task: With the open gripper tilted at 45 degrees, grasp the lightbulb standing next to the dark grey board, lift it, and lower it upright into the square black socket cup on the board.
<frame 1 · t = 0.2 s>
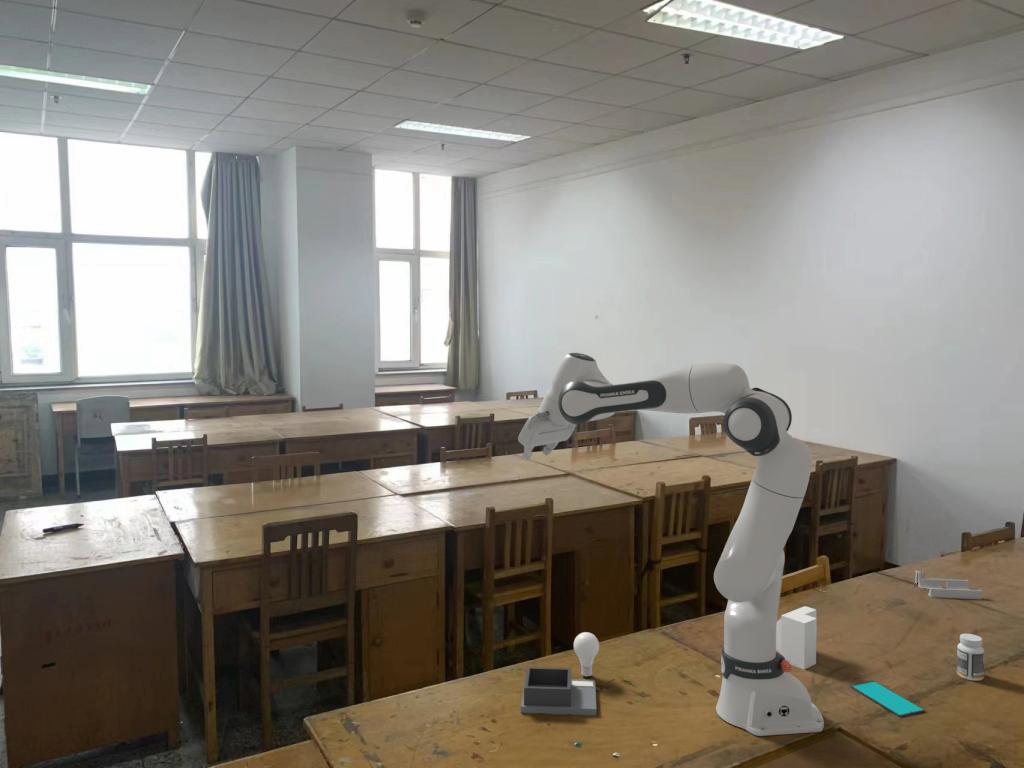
hand: (536, 456, 193), 54 cm above the table, tool tilted 25°, fingers open, 8 cm apart
pill bottle: (969, 677, 182), on the table
smartphone: (885, 701, 172), on the table
lightbulb: (586, 676, 185), on the table
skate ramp: (947, 593, 242), on the table
white notched block: (796, 657, 195), on the table
socket board: (559, 698, 174), on the table
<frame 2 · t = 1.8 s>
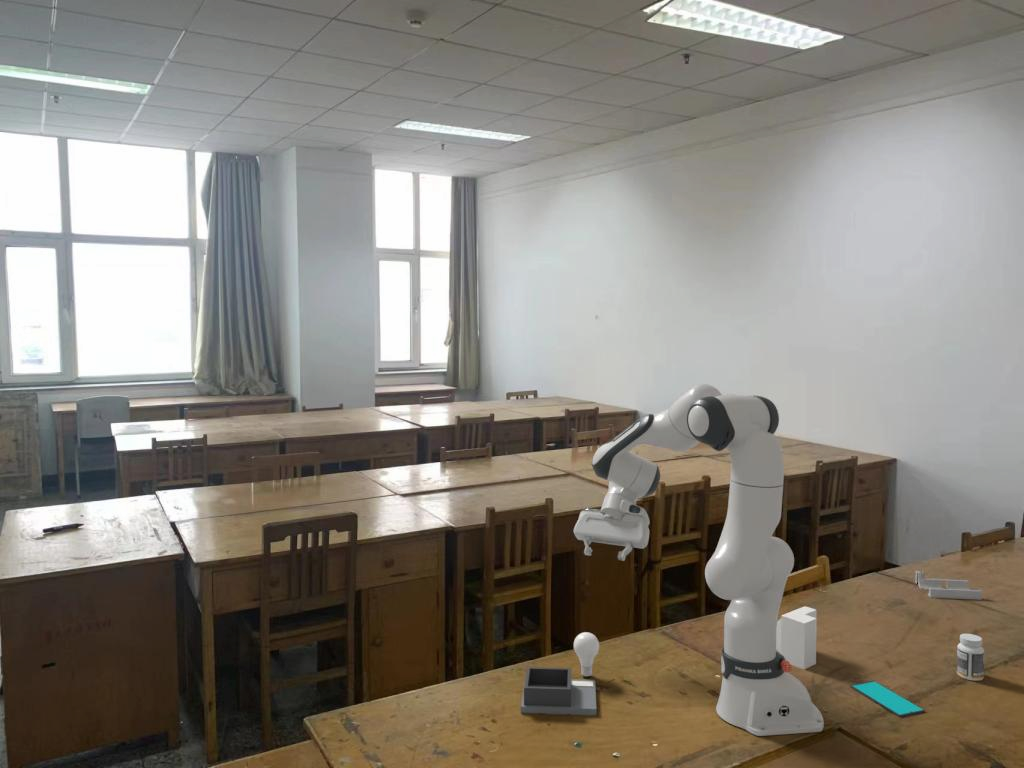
hand: (603, 556, 194), 27 cm above the table, tool tilted 45°, fingers open, 8 cm apart
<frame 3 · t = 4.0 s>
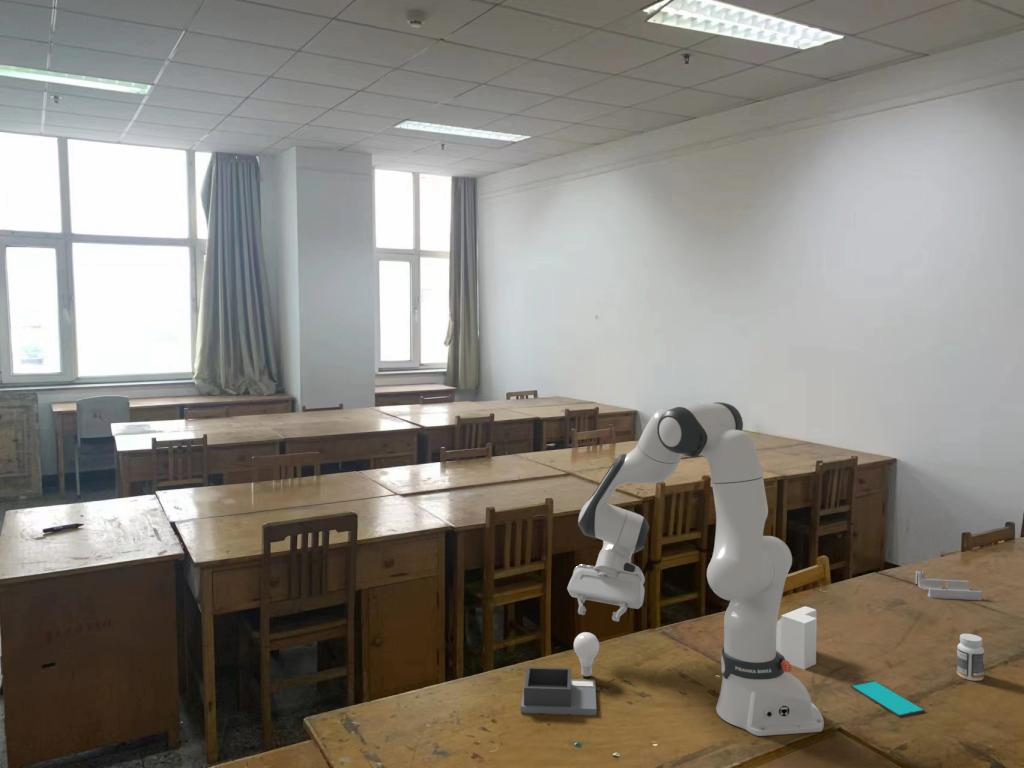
hand: (597, 617, 191), 13 cm above the table, tool tilted 45°, fingers open, 8 cm apart
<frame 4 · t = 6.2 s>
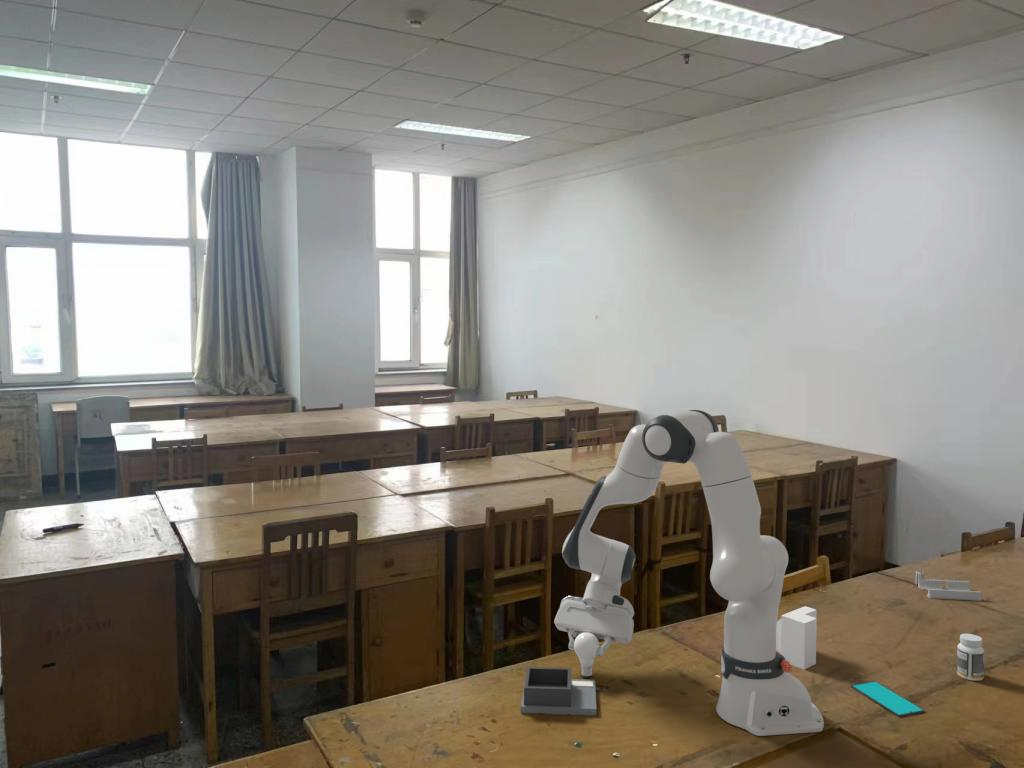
hand: (585, 652, 184), 6 cm above the table, tool tilted 45°, fingers closed on lightbulb, 6 cm apart
lightbulb: (586, 676, 185), on the table, touching gripper
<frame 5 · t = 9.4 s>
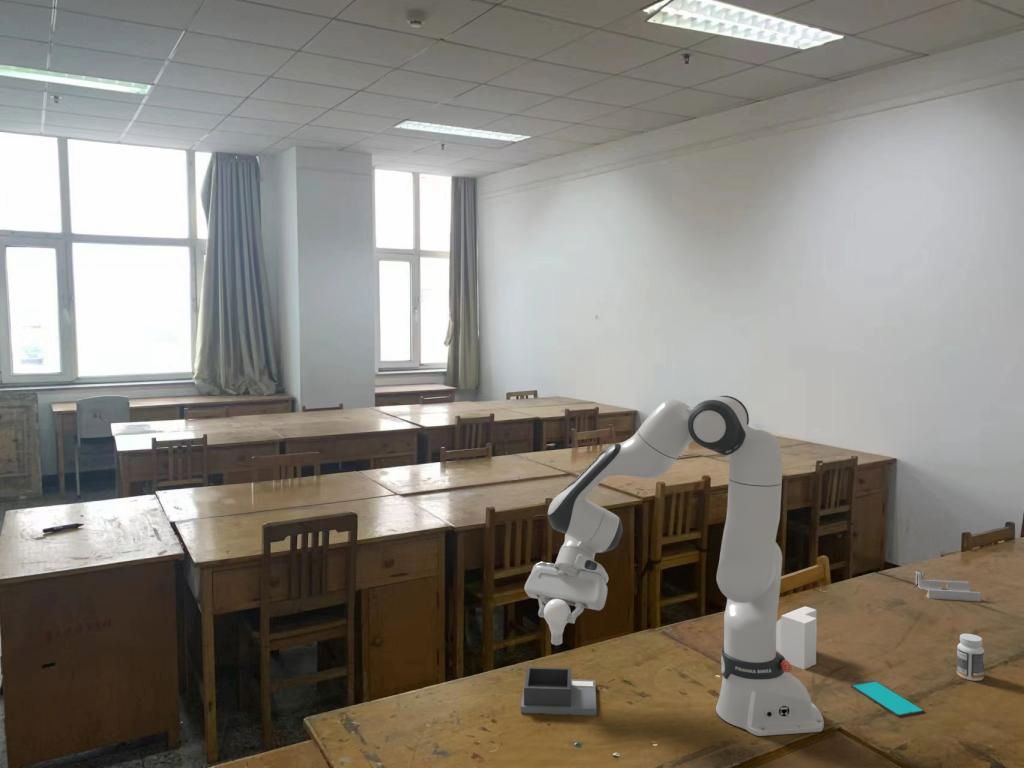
hand: (555, 619, 174), 18 cm above the table, tool tilted 45°, fingers closed on lightbulb, 6 cm apart
lightbulb: (556, 645, 175), point 12 cm above the table, touching gripper
when the fingers open (9 cm above the table, at t = 12.5 s): lightbulb drops 1 cm, resting on socket board.
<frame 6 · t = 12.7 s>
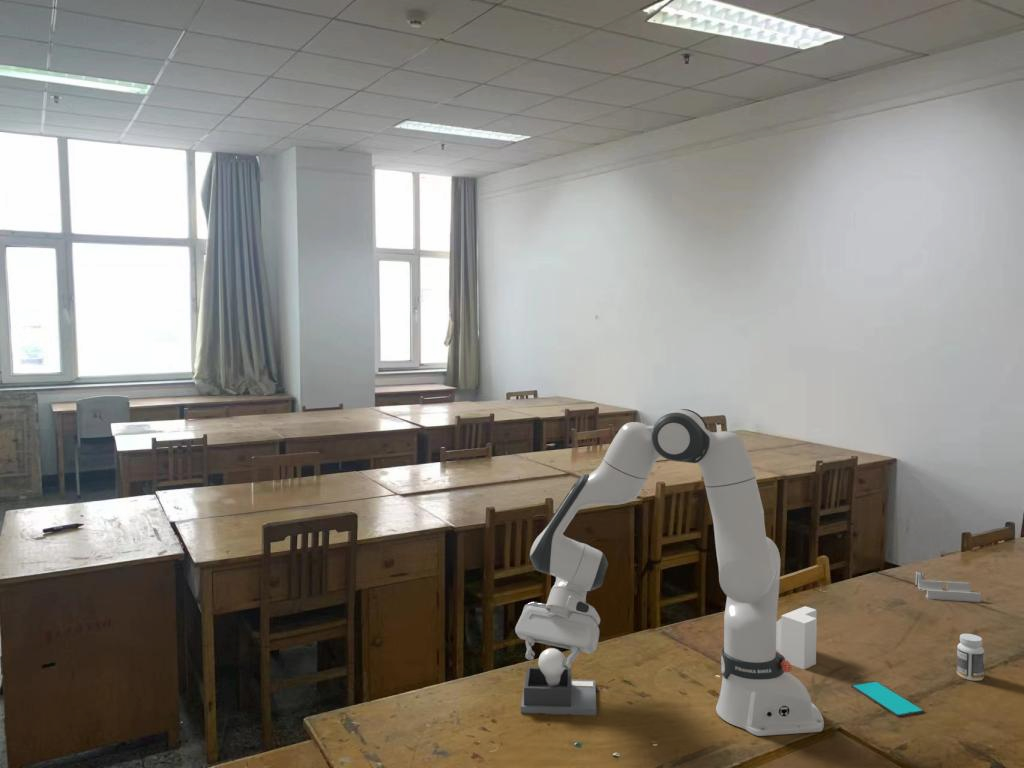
hand: (546, 662, 172), 9 cm above the table, tool tilted 45°, fingers open, 8 cm apart
lightbulb: (554, 696, 172), point 1 cm above the table, touching gripper, socket board
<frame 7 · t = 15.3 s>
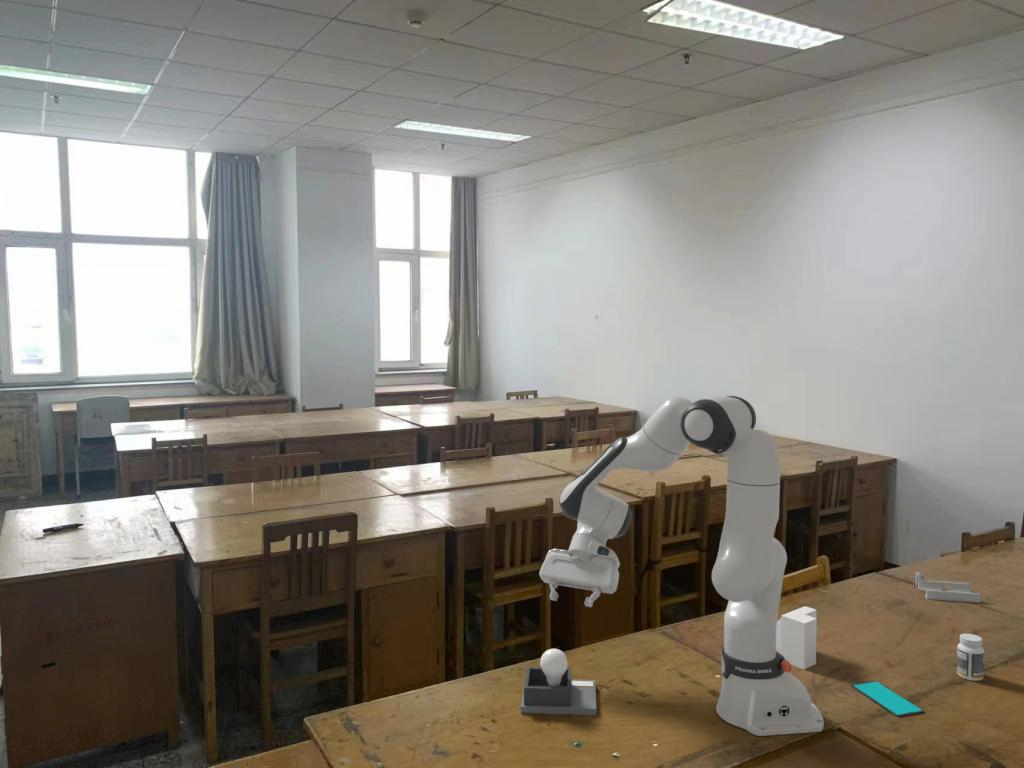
hand: (570, 602, 182), 19 cm above the table, tool tilted 45°, fingers open, 8 cm apart
lightbulb: (554, 696, 172), point 1 cm above the table, touching socket board
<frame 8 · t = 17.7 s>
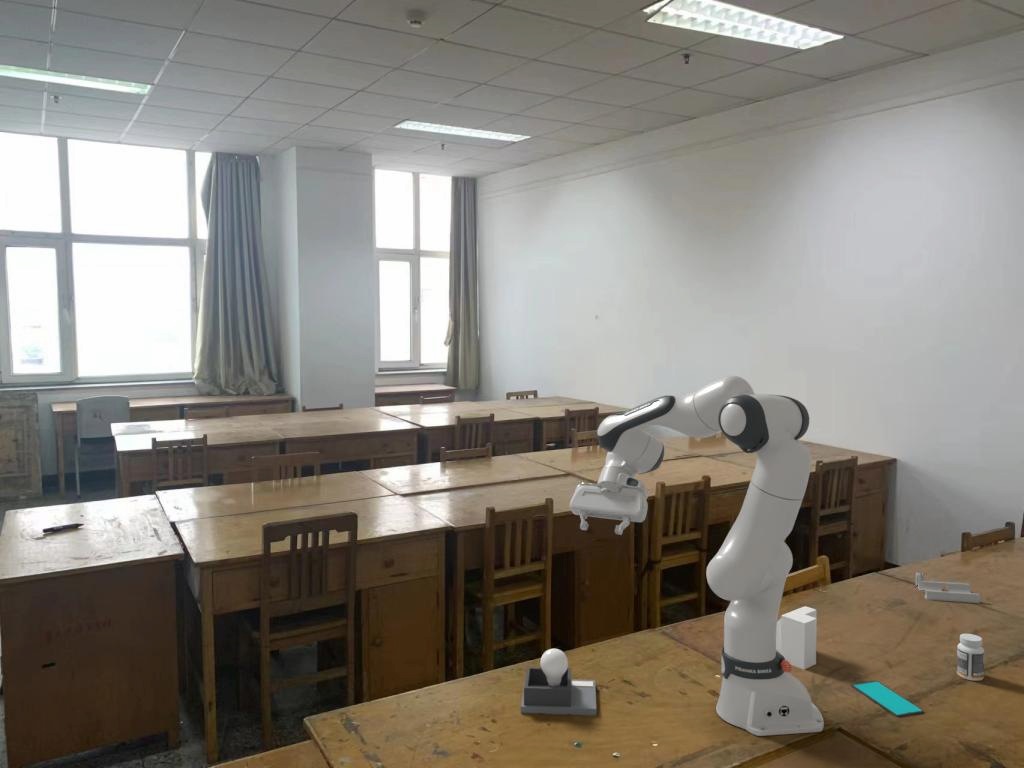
hand: (600, 531, 188), 35 cm above the table, tool tilted 45°, fingers open, 8 cm apart
at the end: lightbulb 1.5 cm from the target spot on the socket board, point 1.3 cm above the socket board's base; lightbulb tilted 0°; the gripper is holding nothing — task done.
